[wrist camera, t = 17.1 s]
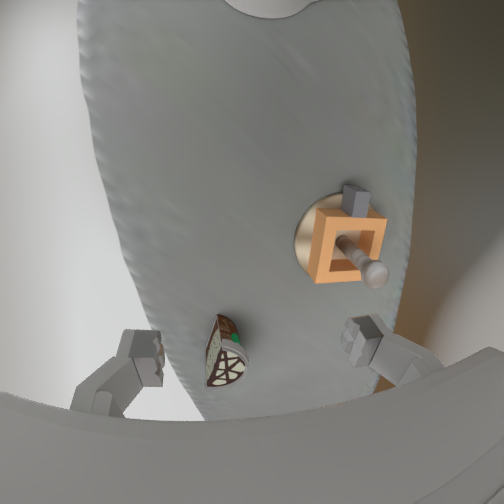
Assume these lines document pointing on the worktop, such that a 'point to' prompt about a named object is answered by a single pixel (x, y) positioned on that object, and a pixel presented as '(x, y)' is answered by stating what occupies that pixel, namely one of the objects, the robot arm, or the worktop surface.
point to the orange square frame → (345, 218)
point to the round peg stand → (339, 245)
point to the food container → (224, 356)
